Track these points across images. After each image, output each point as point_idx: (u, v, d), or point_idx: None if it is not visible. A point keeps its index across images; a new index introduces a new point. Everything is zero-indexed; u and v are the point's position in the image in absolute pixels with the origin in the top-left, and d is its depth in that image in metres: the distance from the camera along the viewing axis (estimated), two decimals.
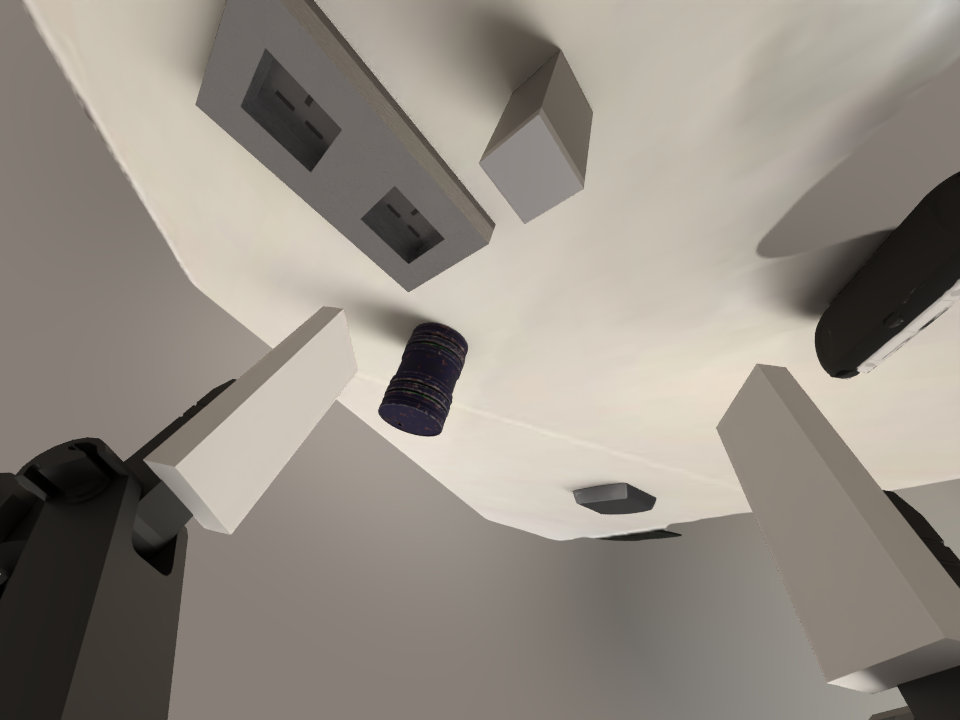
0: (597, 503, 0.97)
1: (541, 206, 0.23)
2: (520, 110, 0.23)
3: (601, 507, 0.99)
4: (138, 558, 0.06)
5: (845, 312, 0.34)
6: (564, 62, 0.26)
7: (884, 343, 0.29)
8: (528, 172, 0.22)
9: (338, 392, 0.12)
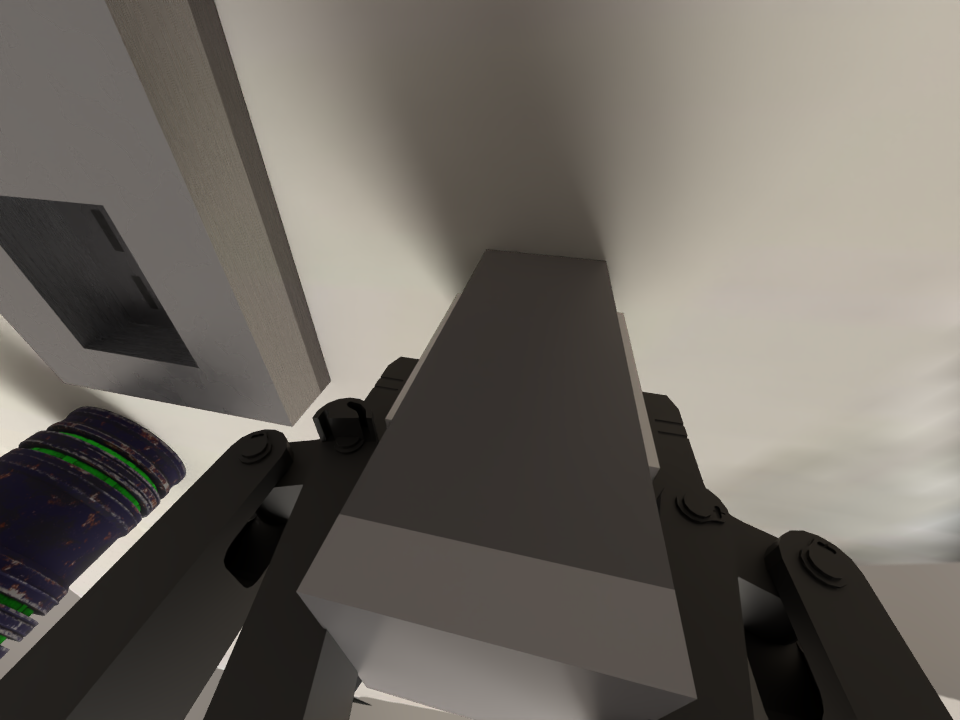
0: None
1: (447, 707, 0.07)
2: (527, 389, 0.07)
3: None
4: None
5: None
6: None
7: None
8: (476, 688, 0.05)
9: None
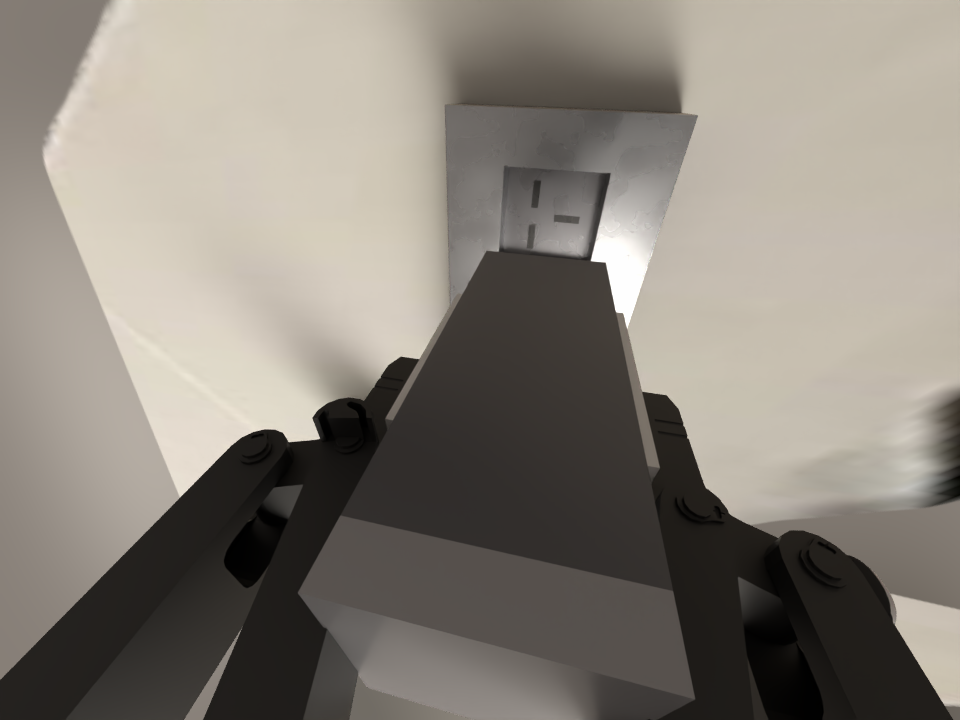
0: None
1: (447, 707, 0.07)
2: (527, 391, 0.07)
3: None
4: None
5: None
6: None
7: None
8: (476, 688, 0.05)
9: None
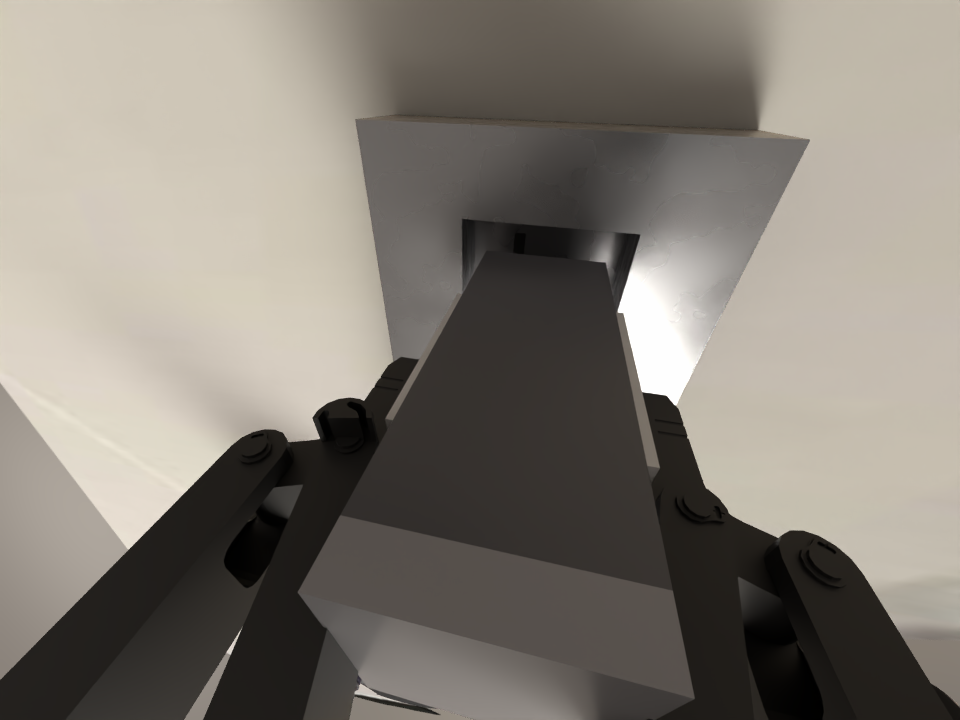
0: None
1: (447, 707, 0.07)
2: (527, 391, 0.07)
3: (385, 693, 0.80)
4: None
5: None
6: None
7: None
8: (476, 687, 0.05)
9: None
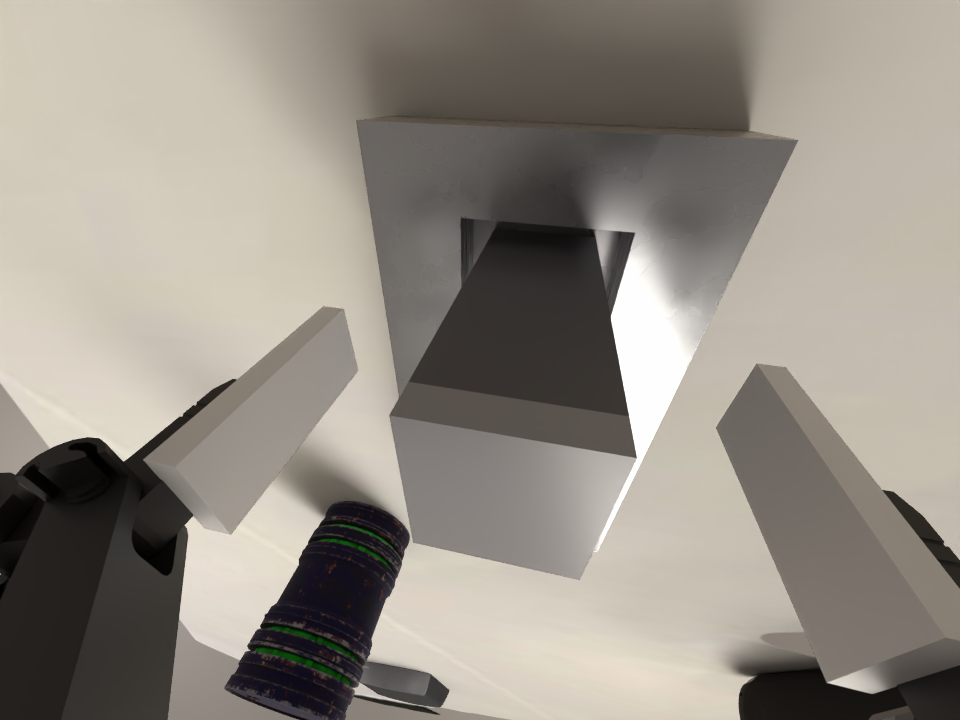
0: (383, 689, 0.78)
1: (474, 548, 0.09)
2: (532, 318, 0.10)
3: (384, 691, 0.80)
4: (138, 558, 0.06)
5: (789, 711, 0.37)
6: None
7: None
8: (500, 504, 0.08)
9: (338, 392, 0.12)
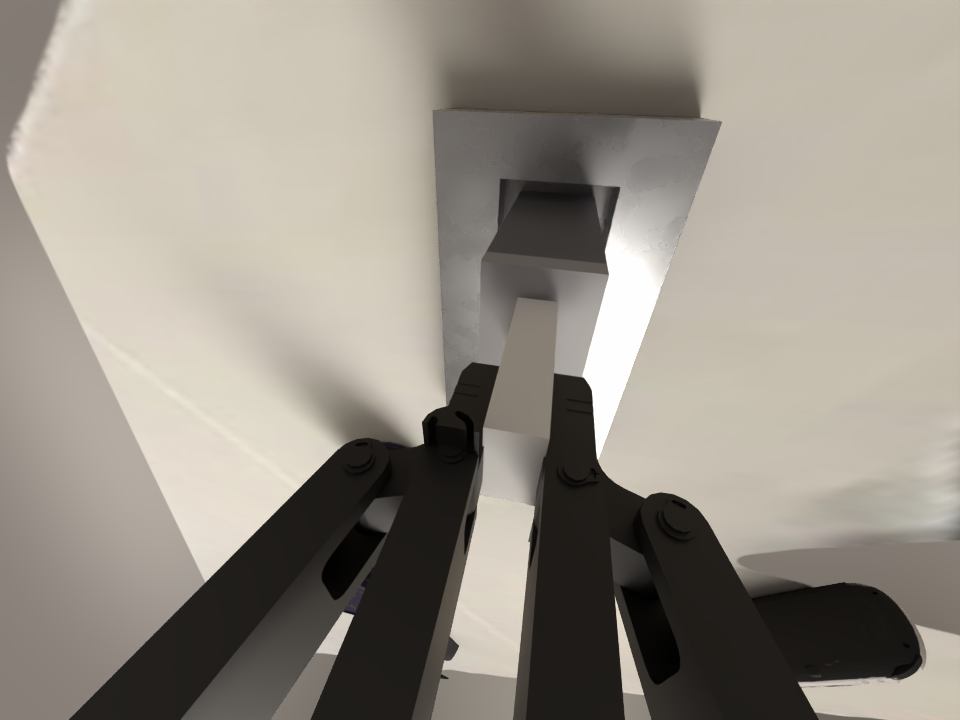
0: None
1: None
2: (552, 231, 0.16)
3: None
4: (463, 537, 0.07)
5: None
6: None
7: (798, 681, 0.38)
8: None
9: None
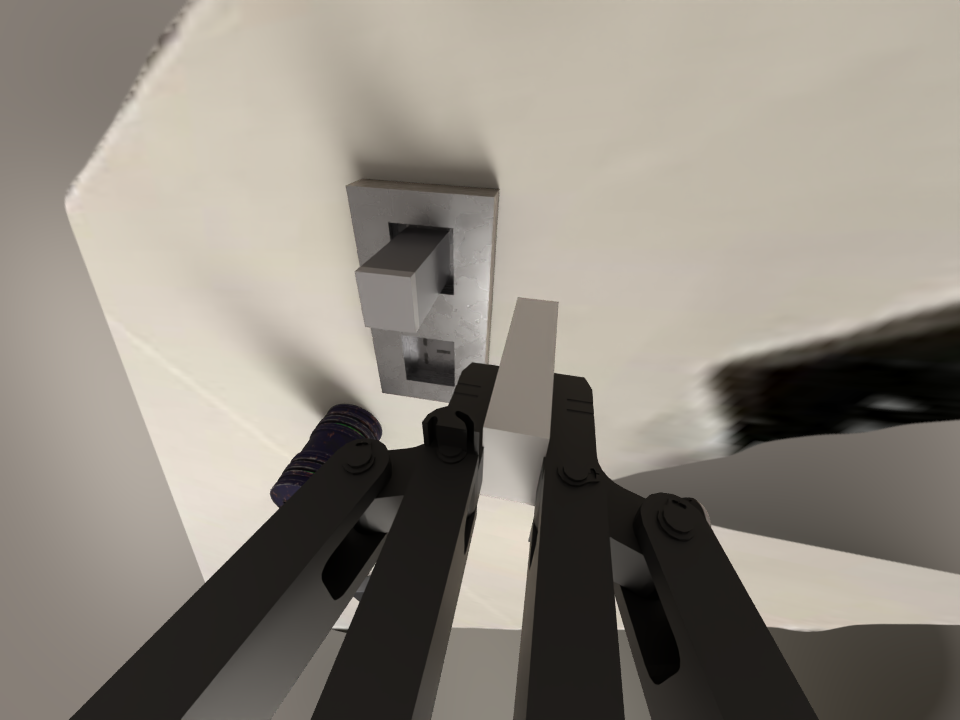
0: None
1: (383, 324, 0.30)
2: (403, 255, 0.30)
3: None
4: (463, 537, 0.07)
5: None
6: (447, 240, 0.36)
7: None
8: (386, 300, 0.28)
9: None
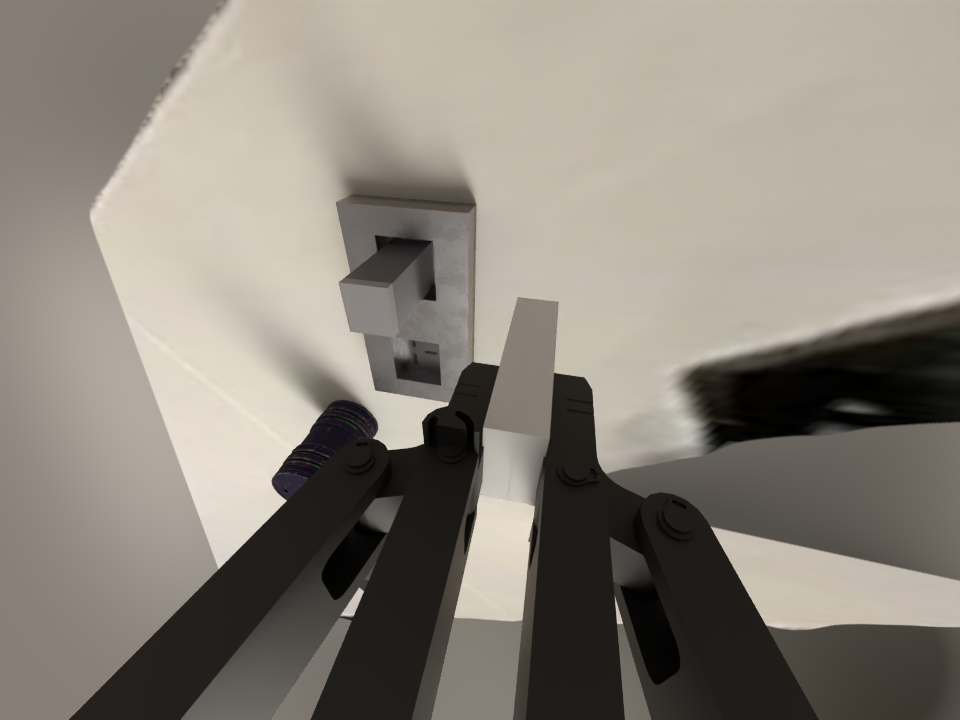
0: (367, 581, 1.01)
1: (366, 329, 0.33)
2: (385, 266, 0.33)
3: None
4: (463, 537, 0.07)
5: None
6: (429, 251, 0.39)
7: None
8: (367, 308, 0.31)
9: None
